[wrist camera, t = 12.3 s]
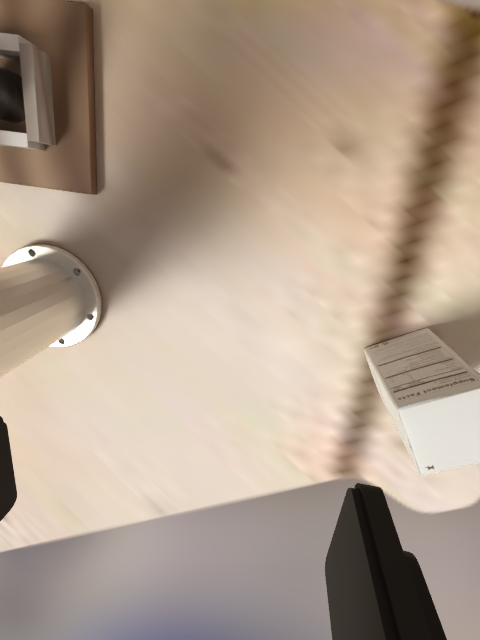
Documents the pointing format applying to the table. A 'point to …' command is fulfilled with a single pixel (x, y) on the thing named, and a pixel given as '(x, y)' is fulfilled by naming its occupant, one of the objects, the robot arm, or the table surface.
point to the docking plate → (50, 95)
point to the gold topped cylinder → (11, 97)
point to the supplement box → (429, 399)
